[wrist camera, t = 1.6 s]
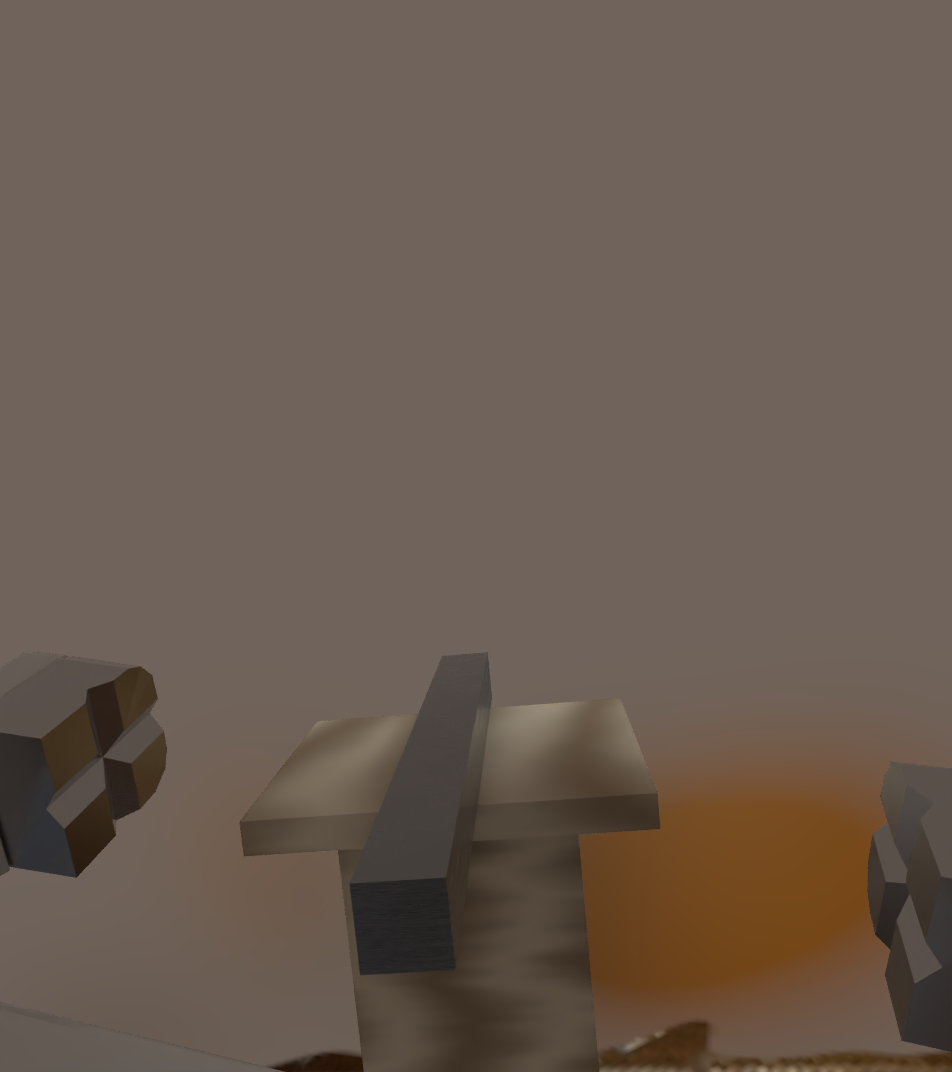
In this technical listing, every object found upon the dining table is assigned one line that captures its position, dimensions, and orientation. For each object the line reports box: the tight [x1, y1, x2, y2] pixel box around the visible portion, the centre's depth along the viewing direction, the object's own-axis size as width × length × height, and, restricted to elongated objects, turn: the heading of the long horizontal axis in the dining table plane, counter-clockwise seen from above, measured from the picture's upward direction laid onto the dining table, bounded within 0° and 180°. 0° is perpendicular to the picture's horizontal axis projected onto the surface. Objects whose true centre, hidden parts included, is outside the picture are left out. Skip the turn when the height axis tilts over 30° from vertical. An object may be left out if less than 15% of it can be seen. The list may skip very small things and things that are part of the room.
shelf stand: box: [240, 698, 660, 1072], centre depth 38 cm, size 16×12×26 cm
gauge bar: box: [349, 653, 492, 975], centre depth 33 cm, size 24×2×2 cm, turn 177°
